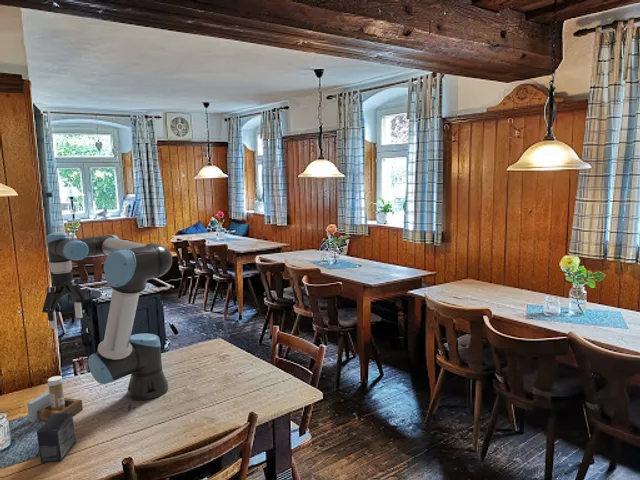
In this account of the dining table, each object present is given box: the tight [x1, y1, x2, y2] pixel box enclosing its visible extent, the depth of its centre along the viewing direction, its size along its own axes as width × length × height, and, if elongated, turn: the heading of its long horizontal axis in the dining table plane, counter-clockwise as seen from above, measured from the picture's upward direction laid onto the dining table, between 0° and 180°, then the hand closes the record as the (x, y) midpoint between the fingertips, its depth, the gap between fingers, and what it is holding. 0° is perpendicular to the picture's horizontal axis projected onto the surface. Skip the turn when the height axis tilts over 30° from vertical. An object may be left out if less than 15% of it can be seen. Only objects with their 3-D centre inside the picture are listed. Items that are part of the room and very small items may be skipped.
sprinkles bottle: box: [47, 375, 65, 411], centre depth 166 cm, size 5×5×14 cm
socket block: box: [37, 397, 84, 423], centre depth 167 cm, size 10×10×4 cm
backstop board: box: [26, 390, 50, 423], centre depth 168 cm, size 2×12×7 cm, turn 165°
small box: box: [36, 413, 77, 464], centre depth 144 cm, size 11×6×10 cm, turn 5°
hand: (66, 322), depth 187 cm, fingers open, 13 cm apart
